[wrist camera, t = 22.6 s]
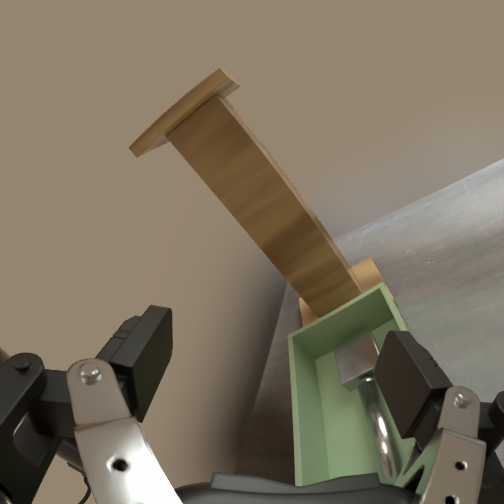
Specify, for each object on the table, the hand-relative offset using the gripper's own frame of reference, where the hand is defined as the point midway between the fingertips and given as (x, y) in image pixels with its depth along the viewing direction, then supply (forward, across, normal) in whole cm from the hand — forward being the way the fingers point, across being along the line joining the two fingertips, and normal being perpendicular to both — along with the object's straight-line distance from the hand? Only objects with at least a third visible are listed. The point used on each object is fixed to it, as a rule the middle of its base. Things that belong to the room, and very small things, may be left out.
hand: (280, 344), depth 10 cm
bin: (+8, -12, +14) cm, 20 cm away
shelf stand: (+24, -11, +10) cm, 29 cm away
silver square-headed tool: (+8, -11, +13) cm, 19 cm away
